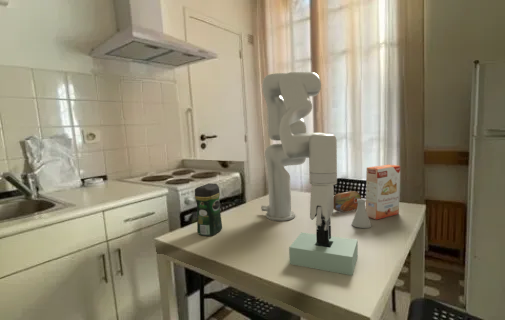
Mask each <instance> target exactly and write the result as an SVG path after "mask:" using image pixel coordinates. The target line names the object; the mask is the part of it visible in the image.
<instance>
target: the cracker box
mask: <svg viewBox="0 0 505 320" xmlns="http://www.w3.org/2000/svg"><path fill="white" fill-rule="evenodd" d="M365 177H366V181H365V183H366V184H365V185H366V186H365V200H366V202H365V208H366V212H367V215H368V217H369V219H370V218H371V219H374V220H375V221H377V220H381V219H384V218H388V217H391V216H396V215H399V213H400V193H401V192H400V188H401V187H400V185H401V184H400V183H401V165H398V164H384V165H375V166H369V167H366V175H365Z"/></svg>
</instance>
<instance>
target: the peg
mask: <svg viewBox="0 0 505 320" xmlns="http://www.w3.org/2000/svg"><path fill="white" fill-rule="evenodd" d="M322 219H324V217H322ZM322 223H324V222H322ZM327 230H328V244H322V243H319V246H323V247H329V219H328V220H327Z"/></svg>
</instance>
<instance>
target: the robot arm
mask: <svg viewBox="0 0 505 320" xmlns="http://www.w3.org/2000/svg"><path fill="white" fill-rule="evenodd" d="M261 87H262V94H263V98H264V101H265V103H266V109H267V133H268V138H269V139H270V140H272V141H276V142H277V141H280V142H281V143H274V144H270V145H268V146H266V148H265V150H264V157H265V163H266V169H267V181H268V183H267V184H268V185H267V186H268V187H267V188H268V205H265V204H262V205H261V208H260V209H261V211H262V212H266V213H265V217H266V219H268V220H270V221H274V222H275V221H276V222H283V221H284V222H285V221H290V220H293V219H294V218H295V217H296V213H295V212H294V211H293V210H292V193H291V192H292V190H291V189H292V187H291V184H292V183H291V175H290V173H289V172H288V170H286V168H285V167H287V166H288V167H289V166H299V165H303V164H304V163H305V162H306V160H307V159H308V164H309V165H308V173H309V175H308V176H309V179H308V180H309V184H310V185H311V188H310V201H309V203H310V206H309V218H310V220H314V219H315V227H316V233H315V234H316V237H317V243H322V244H328V230H327V220H328V219H329V239H331V236H332V225H331V221H332V220H331V218H332V217H331V216H332V215H333V213H334V211H335V210H334V196H335V195H334V194H335V193H334V192H335V191H334V189H335V188H334V186H335V185H337V184H338V168H337V167H338V161H337V157H338V155H337V154H338V153H337V149H338V146H337V144H338V143H337V142H338V141H337V140H338V139H337V137H336V135H335V134H331V133H324V132H307V125H306V121H305V120H304V118H306V117H307V116H308V115H309V114H310V113H311V112H312V110H313V104H312V101H311V98H310V97H316V96H318V95H319V93H320V92H321V90H322V82H321V79H320V77H319V75H318V74H317V73H316V72H313V71H291V72H287V73H286V72H283V73H282V72H281V73H280V72H279V73H276V72H275V73H269V74H267V75H265V76H264V78H263V80H262V86H261ZM322 217H324V219H322ZM322 222H324V223H322Z"/></svg>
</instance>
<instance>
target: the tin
mask: <svg viewBox="0 0 505 320" xmlns="http://www.w3.org/2000/svg"><path fill="white" fill-rule="evenodd" d="M357 199H362V196H361V194H360V193H359V192H358V191H353V190H351V191H350V190H349V191H345V192H339V193H336V194H335V195H334V210H333V211H335V212H338V213H341V214H342V213H347V212H352V211H355V210H356V211H357V206H358V202H357Z"/></svg>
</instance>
